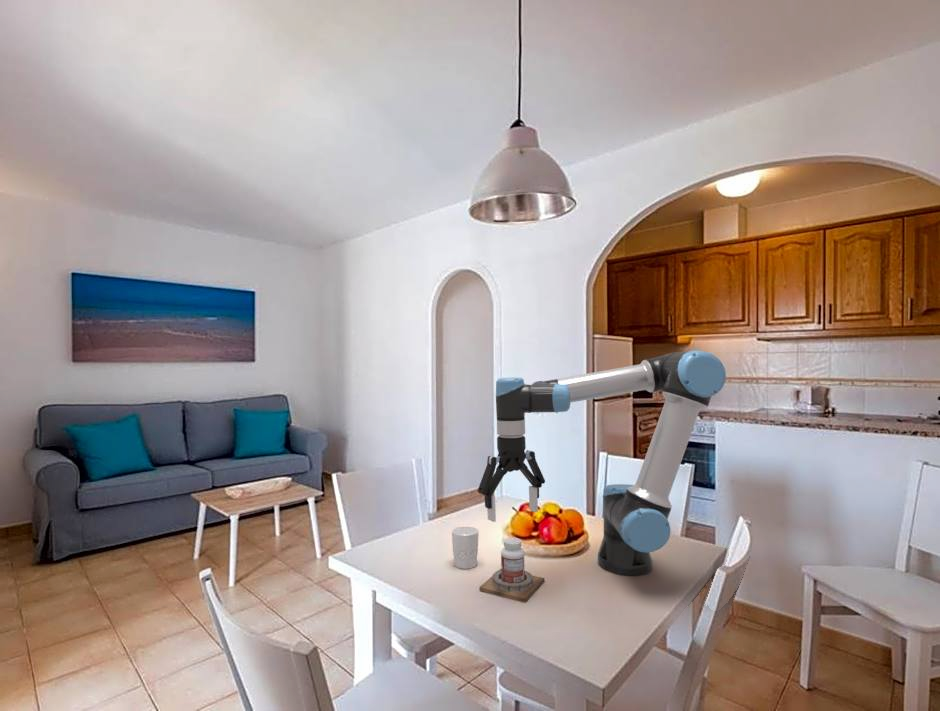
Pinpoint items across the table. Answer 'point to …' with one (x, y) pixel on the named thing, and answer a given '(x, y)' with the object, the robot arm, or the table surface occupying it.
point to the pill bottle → (512, 561)
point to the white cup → (465, 546)
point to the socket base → (513, 594)
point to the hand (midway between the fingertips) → (513, 515)
